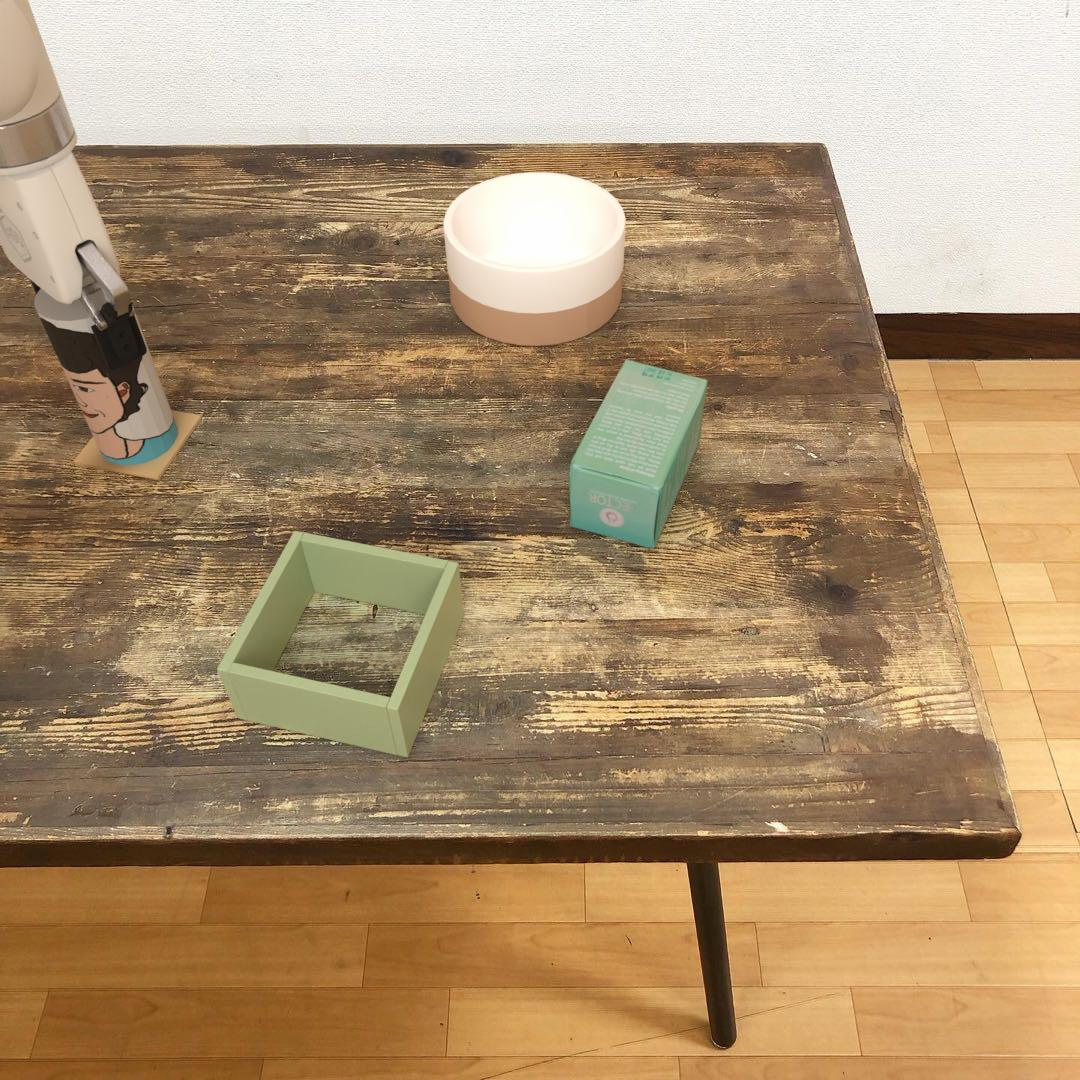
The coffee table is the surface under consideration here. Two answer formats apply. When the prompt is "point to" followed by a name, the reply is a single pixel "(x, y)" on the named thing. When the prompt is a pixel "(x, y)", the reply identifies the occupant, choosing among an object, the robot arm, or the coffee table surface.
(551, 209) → the bowl
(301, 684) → the crate
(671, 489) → the box
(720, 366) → the coffee table surface
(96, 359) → the grey printed cylinder
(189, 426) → the coaster
